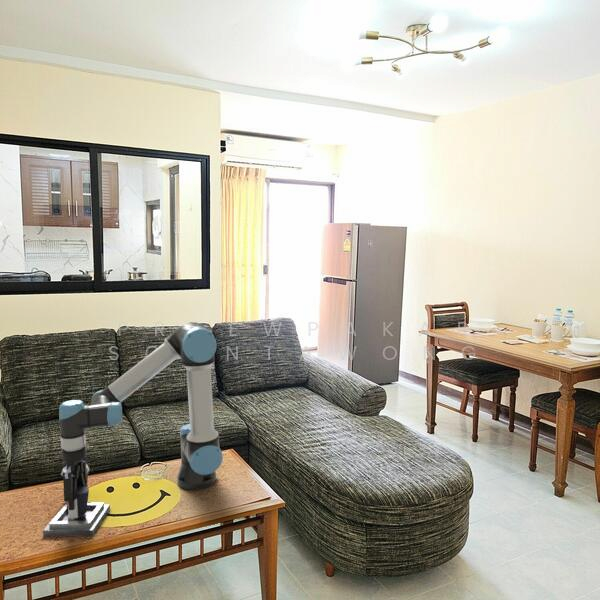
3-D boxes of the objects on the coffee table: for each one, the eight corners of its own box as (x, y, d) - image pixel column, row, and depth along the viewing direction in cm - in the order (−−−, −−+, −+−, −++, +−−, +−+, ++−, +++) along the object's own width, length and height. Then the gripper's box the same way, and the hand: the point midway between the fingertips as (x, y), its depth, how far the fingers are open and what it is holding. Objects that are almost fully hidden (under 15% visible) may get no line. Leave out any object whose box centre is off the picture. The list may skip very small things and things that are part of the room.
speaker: (59, 516, 171) (61, 486, 170) (69, 507, 177) (71, 479, 176) (81, 520, 170) (83, 490, 169) (90, 511, 176) (92, 482, 175)
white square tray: (110, 509, 182) (109, 500, 182) (92, 535, 166) (92, 525, 166) (64, 510, 182) (64, 500, 181) (43, 536, 166) (42, 526, 165)
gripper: (74, 436, 180) (77, 498, 183) (49, 459, 161) (53, 528, 164) (95, 436, 180) (98, 498, 183) (73, 459, 161) (77, 527, 164)
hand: (77, 512), depth 173 cm, fingers closed on speaker, 6 cm apart
